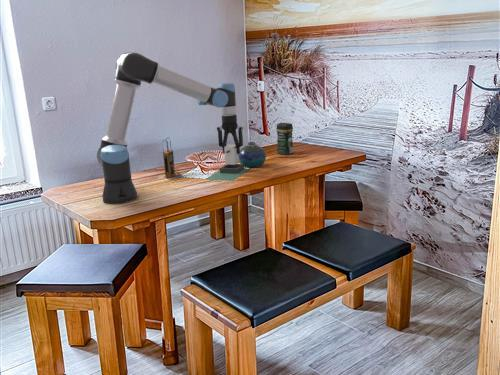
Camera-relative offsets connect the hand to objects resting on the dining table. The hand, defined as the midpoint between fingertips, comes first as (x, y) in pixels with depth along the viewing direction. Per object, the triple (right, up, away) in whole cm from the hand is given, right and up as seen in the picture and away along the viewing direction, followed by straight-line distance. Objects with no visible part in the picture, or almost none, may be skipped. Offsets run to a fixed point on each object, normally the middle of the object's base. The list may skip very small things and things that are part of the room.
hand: (231, 159), depth 247 cm
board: (-2, -9, -3) cm, 10 cm away
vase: (+11, -3, +15) cm, 18 cm away
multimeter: (-29, -8, +3) cm, 30 cm away
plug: (0, -2, +1) cm, 2 cm away
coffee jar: (+31, +6, +43) cm, 53 cm away
